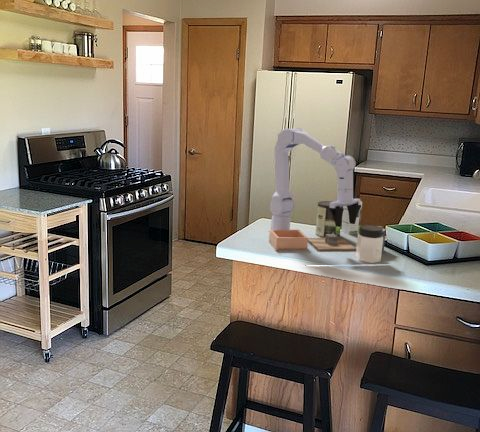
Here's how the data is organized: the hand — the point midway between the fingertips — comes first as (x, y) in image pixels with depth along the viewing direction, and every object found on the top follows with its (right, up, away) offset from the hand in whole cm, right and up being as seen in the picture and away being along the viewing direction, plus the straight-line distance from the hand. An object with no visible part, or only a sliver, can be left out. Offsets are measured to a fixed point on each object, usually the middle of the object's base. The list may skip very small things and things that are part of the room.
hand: (345, 225), depth 190 cm
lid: (-4, -8, +7) cm, 11 cm away
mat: (-4, -9, +7) cm, 12 cm away
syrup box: (+8, -4, +29) cm, 30 cm away
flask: (+12, -11, +1) cm, 16 cm away
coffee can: (-3, -5, +22) cm, 23 cm away
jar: (+6, -13, -8) cm, 16 cm away
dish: (-21, -8, +5) cm, 23 cm away
